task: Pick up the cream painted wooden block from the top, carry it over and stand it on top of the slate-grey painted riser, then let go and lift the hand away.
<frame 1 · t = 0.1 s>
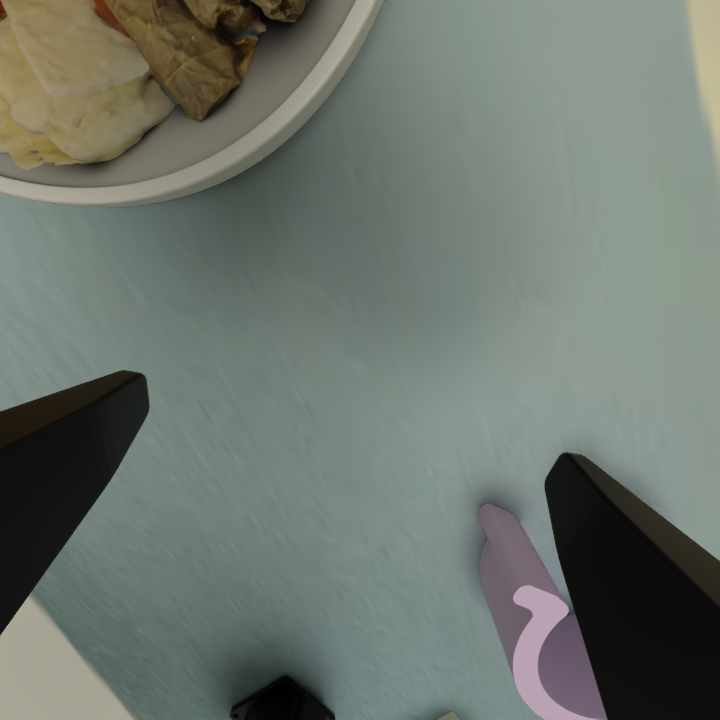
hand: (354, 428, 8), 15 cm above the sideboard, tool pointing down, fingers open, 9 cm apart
clip: (574, 585, 29), on the sideboard
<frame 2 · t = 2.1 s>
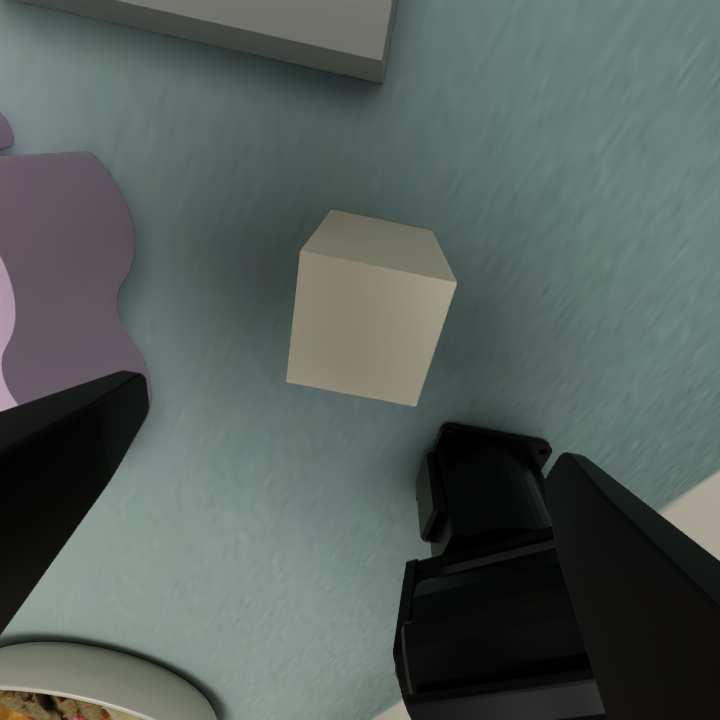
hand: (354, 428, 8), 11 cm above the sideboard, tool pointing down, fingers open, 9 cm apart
clip: (46, 326, 21), on the sideboard
block: (371, 269, 18), on the sideboard
bowl: (106, 688, 46), on the sideboard
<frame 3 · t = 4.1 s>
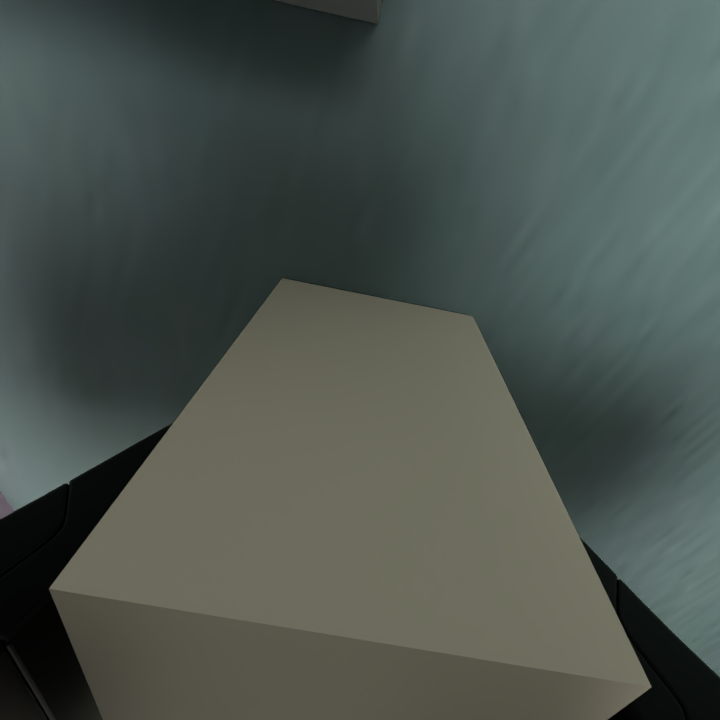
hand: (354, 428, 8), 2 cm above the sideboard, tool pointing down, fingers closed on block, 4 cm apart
block: (360, 377, 10), on the sideboard, touching gripper
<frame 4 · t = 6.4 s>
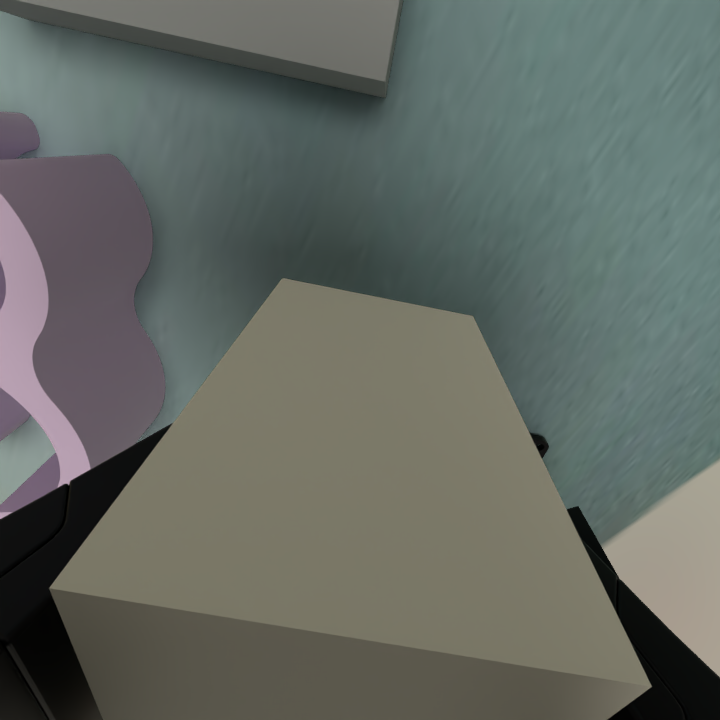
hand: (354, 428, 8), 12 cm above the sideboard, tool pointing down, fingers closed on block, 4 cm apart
clip: (66, 321, 22), on the sideboard
block: (360, 377, 10), point 10 cm above the sideboard, touching gripper
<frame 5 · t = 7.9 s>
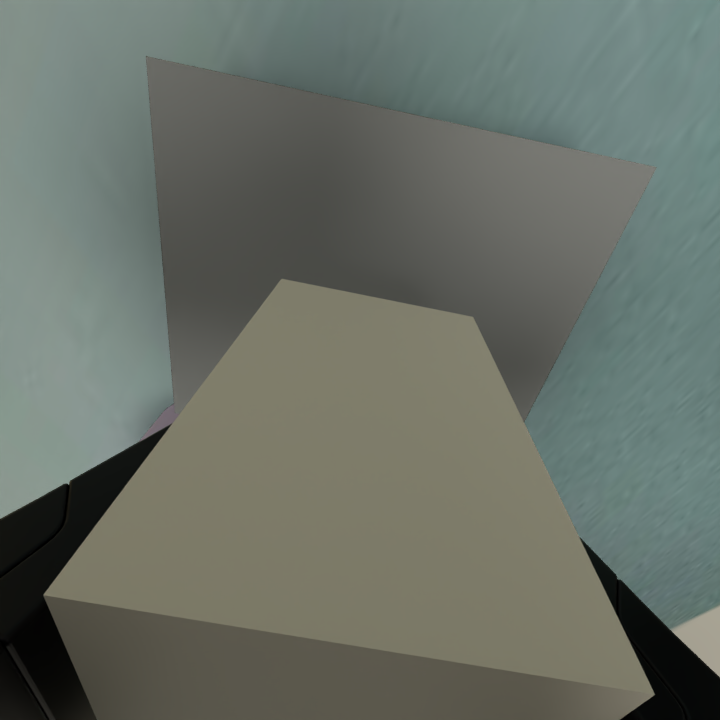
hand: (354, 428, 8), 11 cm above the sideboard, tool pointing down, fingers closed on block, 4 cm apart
clip: (201, 506, 27), on the sideboard
block: (360, 378, 10), point 9 cm above the sideboard, touching gripper
riser: (371, 271, 18), on the sideboard
when the fingers open (8 cm above the sideboard, at t = 9.1 s): block drops 1 cm, resting on riser.
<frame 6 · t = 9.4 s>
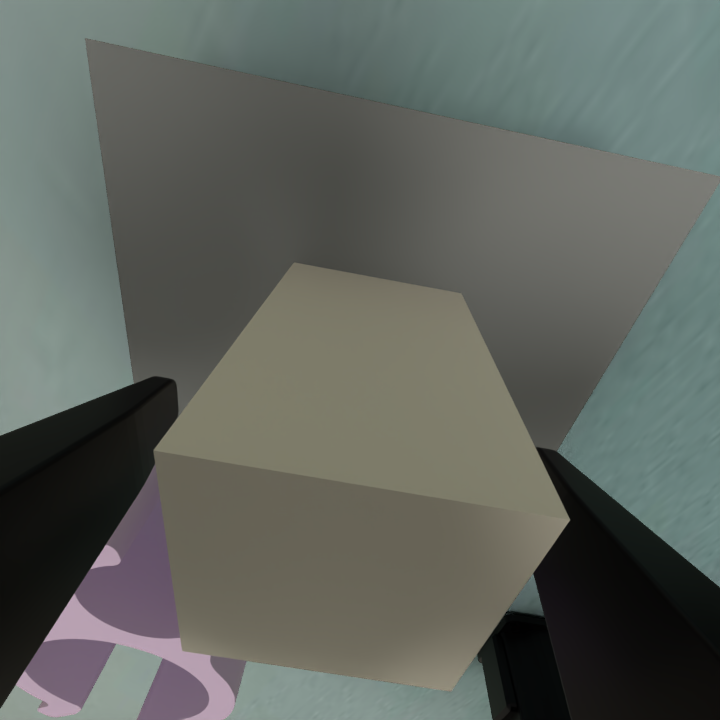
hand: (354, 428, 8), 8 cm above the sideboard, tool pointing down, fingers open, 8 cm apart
clip: (187, 536, 25), on the sideboard
block: (363, 351, 11), point 5 cm above the sideboard, touching riser
riser: (369, 291, 16), on the sideboard
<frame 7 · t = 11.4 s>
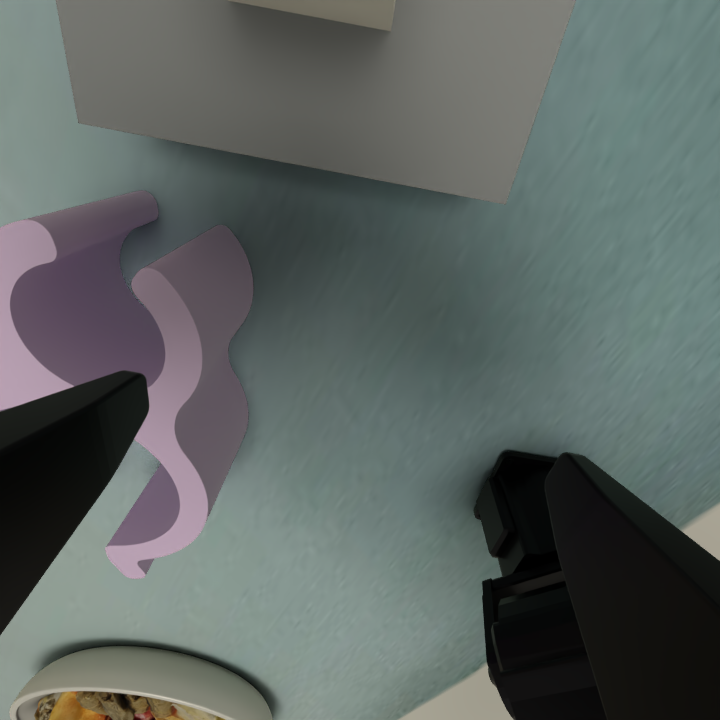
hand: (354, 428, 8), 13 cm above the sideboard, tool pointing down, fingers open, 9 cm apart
clip: (159, 366, 23), on the sideboard
bowl: (165, 687, 50), on the sideboard
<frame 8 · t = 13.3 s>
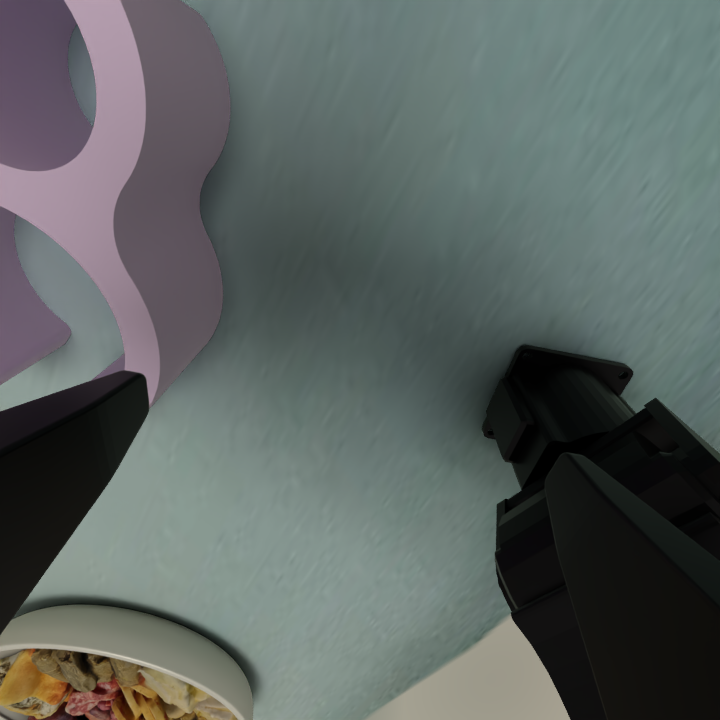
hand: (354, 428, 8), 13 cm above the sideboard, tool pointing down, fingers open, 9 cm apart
clip: (119, 225, 20), on the sideboard
bowl: (136, 658, 45), on the sideboard
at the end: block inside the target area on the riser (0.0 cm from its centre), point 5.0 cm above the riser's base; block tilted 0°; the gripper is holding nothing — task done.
